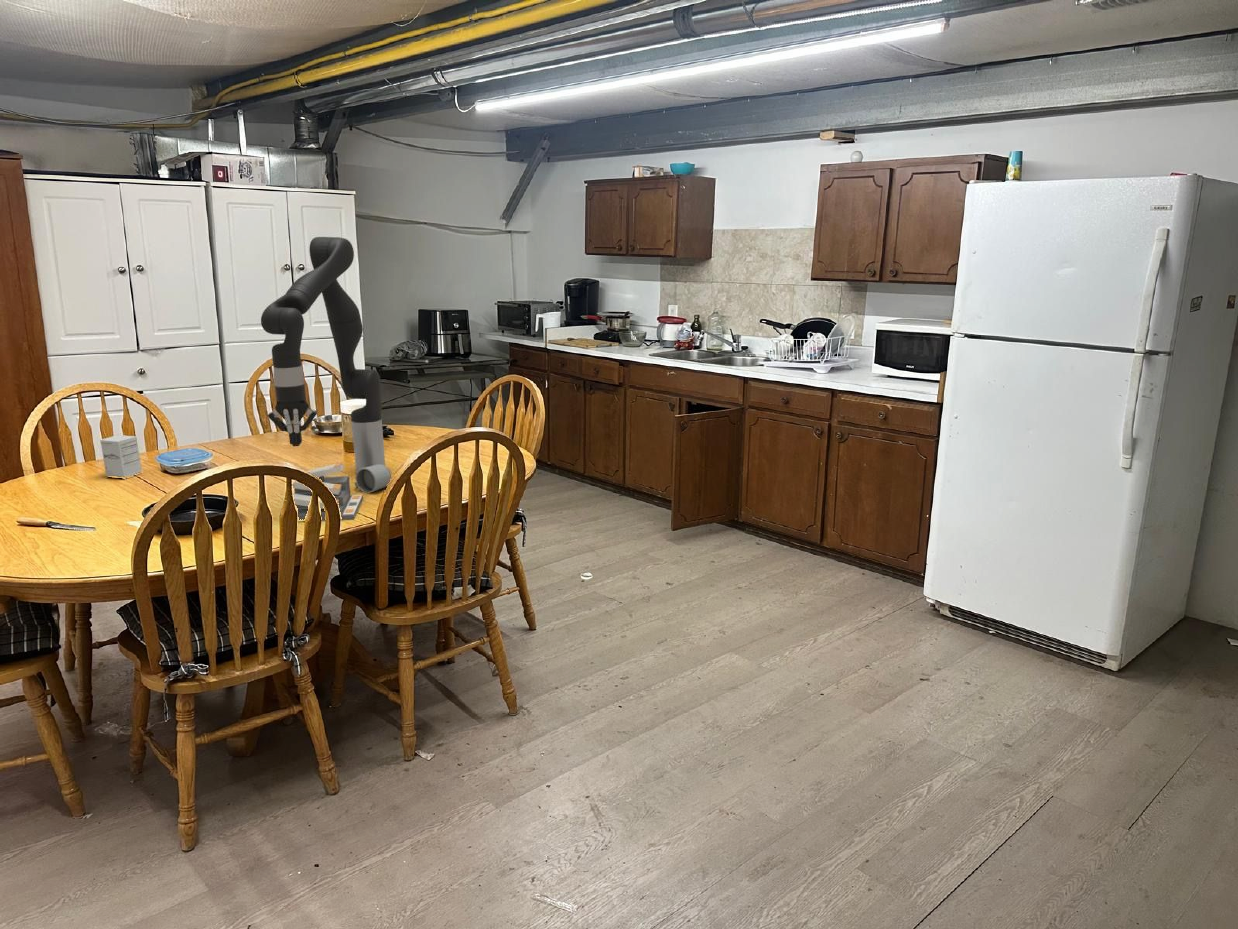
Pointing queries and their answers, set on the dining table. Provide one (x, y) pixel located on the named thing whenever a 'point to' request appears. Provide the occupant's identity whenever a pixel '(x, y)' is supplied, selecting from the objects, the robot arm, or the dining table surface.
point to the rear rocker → (327, 470)
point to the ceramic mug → (372, 478)
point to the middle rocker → (332, 487)
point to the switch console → (346, 500)
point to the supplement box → (121, 456)
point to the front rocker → (305, 500)
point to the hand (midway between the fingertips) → (296, 445)
